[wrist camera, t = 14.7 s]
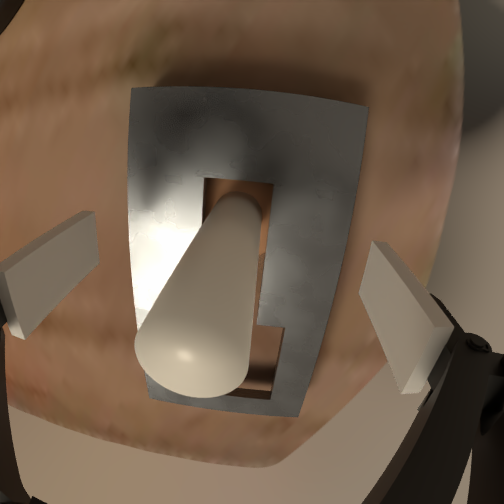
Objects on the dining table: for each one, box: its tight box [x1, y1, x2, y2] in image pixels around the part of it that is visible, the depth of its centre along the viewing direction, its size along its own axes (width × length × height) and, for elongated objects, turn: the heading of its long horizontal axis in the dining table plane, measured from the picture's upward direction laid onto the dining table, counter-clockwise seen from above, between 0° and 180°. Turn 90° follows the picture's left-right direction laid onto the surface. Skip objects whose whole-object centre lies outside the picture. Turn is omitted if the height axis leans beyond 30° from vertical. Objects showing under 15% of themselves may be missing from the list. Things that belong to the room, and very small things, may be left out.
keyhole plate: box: [128, 86, 369, 417], centre depth 21 cm, size 24×13×3 cm, turn 175°
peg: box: [135, 177, 273, 398], centre depth 14 cm, size 6×6×14 cm
